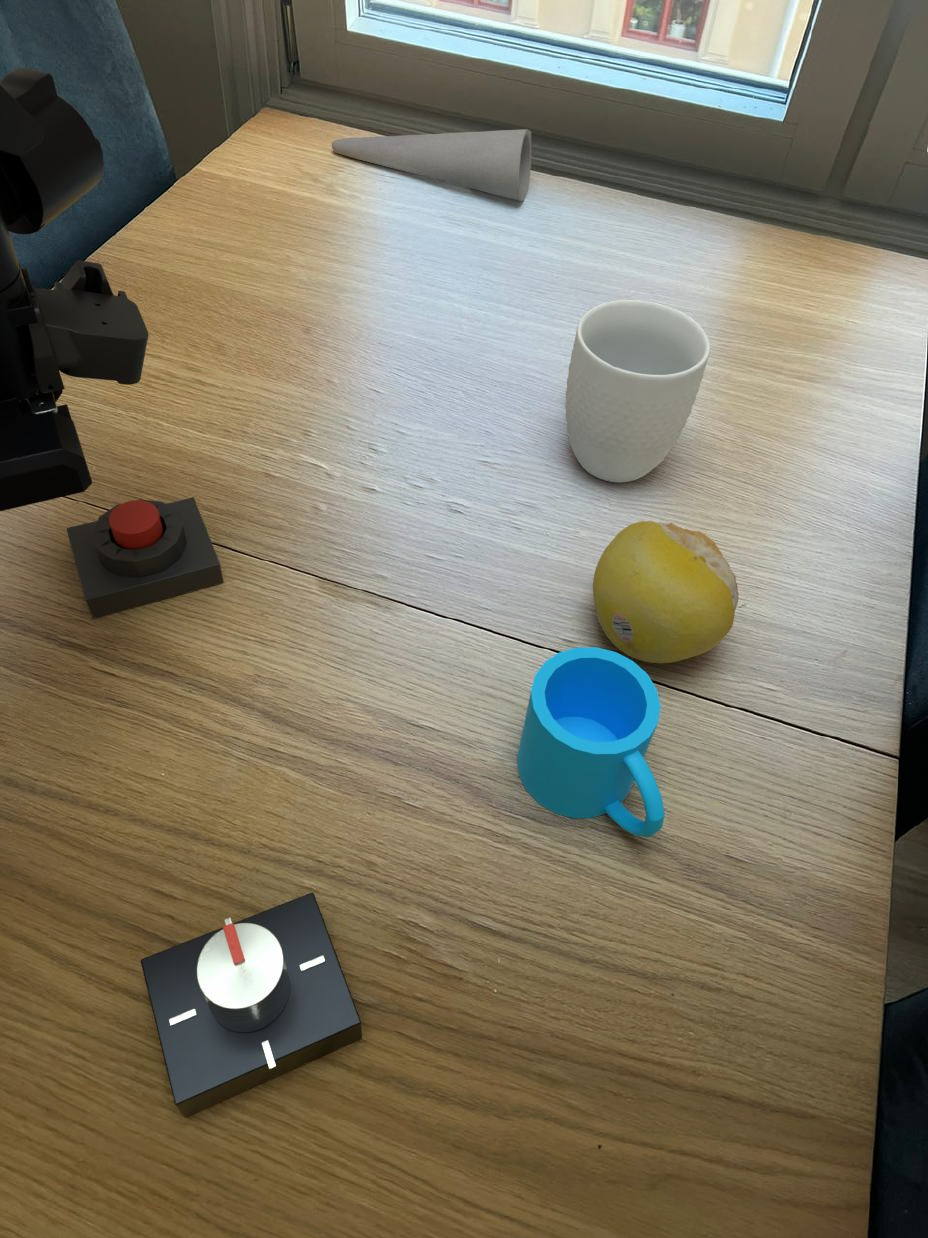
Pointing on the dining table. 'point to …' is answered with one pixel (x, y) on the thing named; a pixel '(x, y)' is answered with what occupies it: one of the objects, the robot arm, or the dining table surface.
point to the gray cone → (453, 158)
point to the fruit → (664, 592)
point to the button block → (144, 560)
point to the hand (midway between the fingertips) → (45, 492)
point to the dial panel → (237, 1061)
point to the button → (135, 524)
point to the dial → (243, 977)
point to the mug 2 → (591, 738)
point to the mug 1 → (632, 386)
